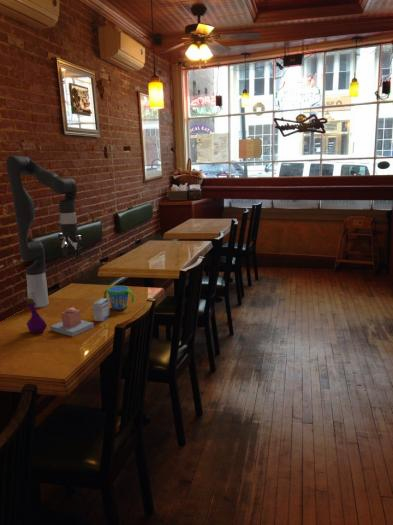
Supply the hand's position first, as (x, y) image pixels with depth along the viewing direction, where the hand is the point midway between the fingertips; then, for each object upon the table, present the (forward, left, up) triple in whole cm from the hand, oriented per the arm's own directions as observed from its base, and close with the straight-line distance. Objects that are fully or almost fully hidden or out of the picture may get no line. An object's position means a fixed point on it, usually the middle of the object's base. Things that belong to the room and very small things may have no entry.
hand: (71, 256), depth 203 cm
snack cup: (+14, +15, -28) cm, 35 cm away
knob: (+15, -16, -26) cm, 34 cm away
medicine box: (+17, 0, -28) cm, 33 cm away
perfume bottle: (+4, -26, -28) cm, 38 cm away
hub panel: (+15, -16, -28) cm, 36 cm away
